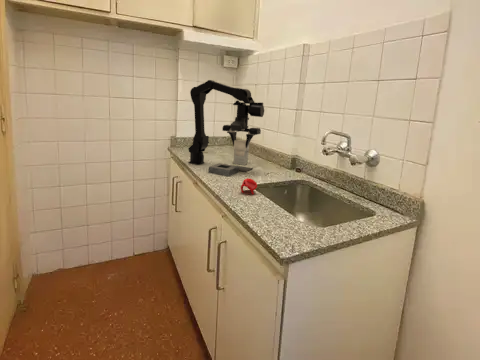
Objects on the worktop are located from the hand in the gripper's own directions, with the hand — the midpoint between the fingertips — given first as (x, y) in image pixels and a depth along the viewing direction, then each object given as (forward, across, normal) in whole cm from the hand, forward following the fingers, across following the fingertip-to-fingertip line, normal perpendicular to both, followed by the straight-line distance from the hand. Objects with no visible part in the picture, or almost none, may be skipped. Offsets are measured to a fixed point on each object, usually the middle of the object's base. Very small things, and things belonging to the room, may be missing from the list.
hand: (240, 146), depth 158 cm
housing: (+12, -4, -10) cm, 16 cm away
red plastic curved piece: (+12, +19, -33) cm, 40 cm away
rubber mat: (+12, 0, +2) cm, 12 cm away
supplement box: (+12, -6, +17) cm, 22 cm away
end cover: (+4, 0, 0) cm, 5 cm away
